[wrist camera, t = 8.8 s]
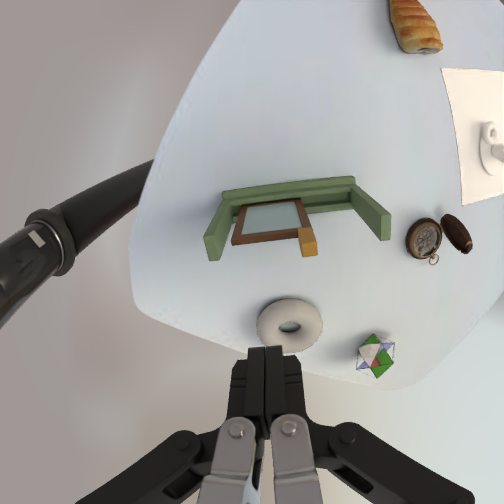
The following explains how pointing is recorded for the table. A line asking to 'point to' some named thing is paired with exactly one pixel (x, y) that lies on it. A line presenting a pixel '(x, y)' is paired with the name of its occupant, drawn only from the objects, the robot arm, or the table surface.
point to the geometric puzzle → (375, 356)
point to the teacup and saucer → (478, 130)
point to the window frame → (313, 198)
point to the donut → (290, 313)
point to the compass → (437, 237)
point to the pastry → (414, 27)
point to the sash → (275, 224)
